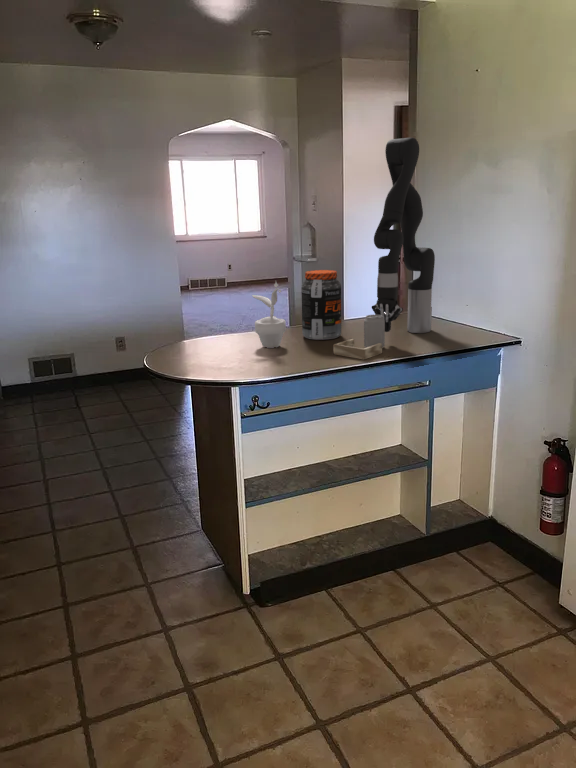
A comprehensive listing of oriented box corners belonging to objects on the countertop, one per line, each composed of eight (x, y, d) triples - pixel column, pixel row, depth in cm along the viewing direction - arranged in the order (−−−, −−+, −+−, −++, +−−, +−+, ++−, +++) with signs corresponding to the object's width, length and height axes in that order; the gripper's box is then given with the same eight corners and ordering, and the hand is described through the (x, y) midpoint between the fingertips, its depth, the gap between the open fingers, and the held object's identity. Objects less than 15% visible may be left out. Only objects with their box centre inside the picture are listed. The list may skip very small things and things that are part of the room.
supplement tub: (331, 342, 243) (329, 274, 236) (295, 339, 251) (293, 273, 243) (348, 333, 256) (347, 269, 249) (313, 330, 264) (312, 268, 256)
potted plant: (291, 343, 243) (289, 278, 236) (278, 351, 233) (275, 283, 226) (262, 341, 248) (259, 277, 241) (248, 348, 238) (244, 282, 231)
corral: (351, 347, 234) (351, 338, 233) (381, 353, 225) (382, 343, 224) (333, 354, 226) (333, 344, 225) (364, 359, 217) (364, 349, 216)
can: (383, 350, 228) (384, 317, 225) (363, 350, 230) (363, 317, 226) (385, 345, 235) (385, 313, 232) (364, 345, 237) (364, 313, 233)
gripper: (408, 285, 230) (407, 332, 235) (378, 282, 239) (377, 327, 244) (397, 287, 225) (396, 335, 230) (366, 285, 234) (366, 331, 239)
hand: (386, 331), depth 237 cm, fingers closed
